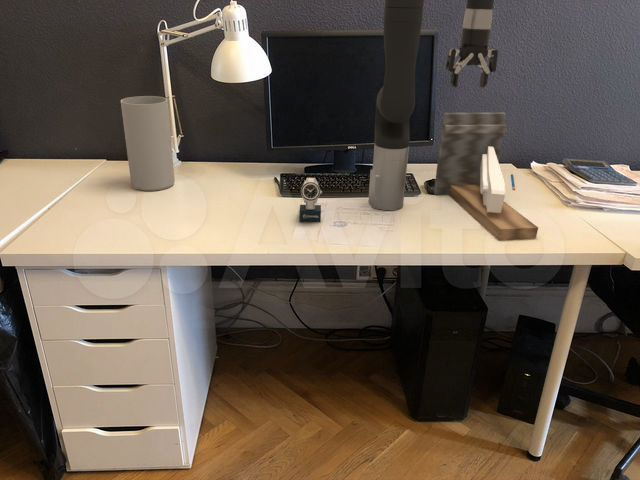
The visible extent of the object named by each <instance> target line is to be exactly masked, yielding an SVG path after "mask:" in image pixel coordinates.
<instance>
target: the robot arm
mask: <svg viewBox="0 0 640 480" xmlns="http://www.w3.org/2000/svg"><path fill="white" fill-rule="evenodd" d="M424 1H425V0H384V9H383V10H384V12H383V46H384V57H385V58H384V59H385V70H384V78H383V79H384V80H383V86H382V87H381V88H380V89H379V91H378V92H377V96H376V102H375V117H374V118H375V119H374V148H373V159H372V168H370V173H369V185H368V187H369V188H368V200H367V201H368V203H369V204H370V206H371V208H373V209H375V210H377V209H378V210H381V211H384V210H385V211H396V210H400V209H401V208H404V207H403V206H404V201H405V187H406V180H407V178H406V177H407V169H408V168H407V167H408V159H409V151H410V139H411V136H410V121H411V119H410V117H412V116H411V115H412V114H413V113H414V111H415V106H416V63H417V58H418V53H419V47H420V46H419V45H420V39H421V38H420V37H421V31H422V23H423V15H424V3H425V2H424ZM494 2H495V1H494V0H466V7H465V8H466V9H465V13H464V17H463V22H462V31H461V37H460V38H461V39H460V46H459V49H455V48H449V49H448V54H447V58H446V63H445V70H446V71H448V72H450V73H451V75H450V85H451V86H452V88H457V87H458V81H459V75H460V74H459V72H460V71H462V69H463V68H465V66H477V67H479V68H480V70H481V72H482V73H480V80H479V84H478V85H479V88H485V87H486V86H487V84H488V79H489V75H490V74H491V73H495V72H496V71H497V64H498V54H499V51H498V50H497V49H495V48H491V49H489V48H488V46H489V42H490V36H491V35H490V34H491V29H492V22H493V9H494V4H495V3H494ZM458 56H459V59H458V60H457V61H456V62H455V59H456V58H457V57H458ZM487 56H488V58H489V59H488V64H487V62H486V60H485V59H486V57H487ZM454 63H455V64H454Z"/></svg>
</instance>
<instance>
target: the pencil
mask: <svg viewBox="0 0 640 480" xmlns="http://www.w3.org/2000/svg"><path fill="white" fill-rule="evenodd" d="M514 177H515V176H514V174H513V173H511V174H510V180H511V187H512V191H516V185H515V178H514Z"/></svg>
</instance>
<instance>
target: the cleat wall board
mask: <svg viewBox="0 0 640 480" xmlns="http://www.w3.org/2000/svg"><path fill="white" fill-rule="evenodd" d="M442 116H443V117H442V124H441V125H442V126H441V131H440V132H441V133H440V141H439V150H438V157H437V164H436V165H437V166H436V173H435V181H434V189H433V194H434V195H435V196H449V197H451V198H452V200H454V201H455V202H456V203H457V204H458V205H459V206H460V207H462V208H463V209H464V210H465V211H466V212H467V214H469V215H470V216H471V217H472V218H473V219H474V220H475V221H476V222H477V223H479V224H480V225H481V226H482V227H483V228H484V229H485V230H487V232H489V233H490V234H491V235H492V236H493V237H494V238H495V239H496V240H497V241H513V240H517V241H518V240H530V239H531V240H534V238H536V239H537V236H538V230H539V227H538V226H537V225H536V224H534V223H533V222H532V221H530V220H529V219H528V218H526V217H525V216H524V215H523V214H521V213H520V212H519V211H517V210H516V209H514V207H512V206H511V205H509V204H508V203H507V202H506V201H505V200H504V201H503V205H502V210H501V213H491V212H487V208H486V205H483V194H481V192H480V165H481V160H482V154H487V151H488V146H489V147H494V150H495V153H496V156H497V160H498V161H499V159H500V154H501V149H502V148H501V147H502V142H503V137H504V133H505V134H506V133H507V129H508V125H507V124H506V119H507V113H506V112H504V111H503V112H491V111H490V112H488V111H487V112H443V115H442Z"/></svg>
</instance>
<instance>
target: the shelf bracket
mask: <svg viewBox="0 0 640 480" xmlns="http://www.w3.org/2000/svg"><path fill="white" fill-rule="evenodd" d="M480 192H481V194H483V205H486V208H487V212H491V213H501V210H502V205H503V201H504V202H505V197H506V183H505V180H504V176H503V173H502V169H501V167H500V163H499V160H497V156H496V153H495V150H494V147H489V146H488V151H487V154H482V160H481V165H480Z"/></svg>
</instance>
